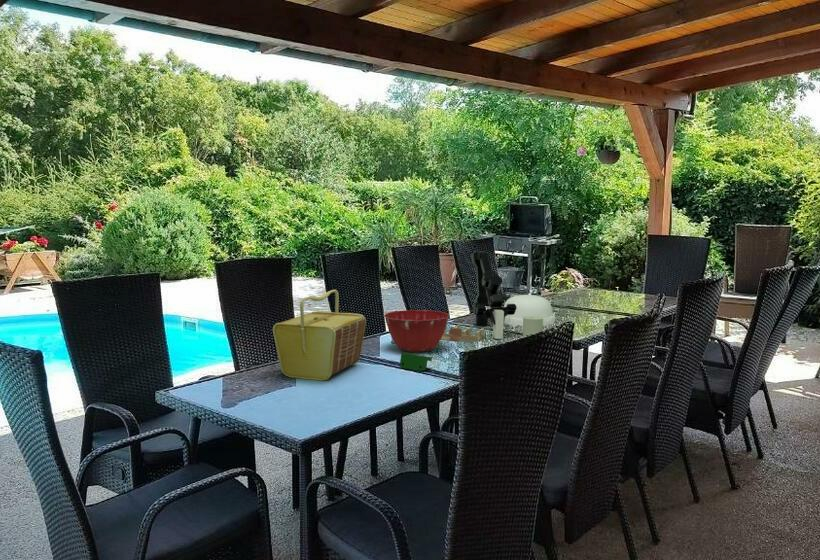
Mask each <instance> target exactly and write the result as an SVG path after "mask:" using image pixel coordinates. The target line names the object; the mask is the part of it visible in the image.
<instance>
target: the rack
mask: <svg viewBox="0 0 820 560" xmlns="http://www.w3.org/2000/svg"><path fill="white" fill-rule="evenodd" d="M472 330H473V329H472V327H471V326H470V327H469V326H468V327H467V328H465V330H462V328H460V326H459V325H457V326H455V327H450V328H449V330H448V333H447V327H446V328H445V331H444V333H443V335H442V338H441V340H440V341H447V342H449V341H450V342H458V341H466V342H465V343H469V342H477V341H479V340H480V341H482V340H483V339H485V328H484V327H481V329H479V330H477V331H476V332H474V335H472V334H473V333H472ZM482 338H483V339H482ZM481 339H482V340H481ZM480 341H479V342H480ZM477 343H478V342H477Z"/></svg>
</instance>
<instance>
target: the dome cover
mask: <svg viewBox="0 0 820 560" xmlns="http://www.w3.org/2000/svg"><path fill="white" fill-rule="evenodd" d="M504 302H505V303H503V305H504V306H503V307H507V304H515V305H516V307H517V308H516V311H515V314H513V315H507V316H505V319H504V324H505V323H506V325H508V326H517V325H520V327H523V317H524V316H540V317H543V325H545V326H549V325H548V324H550V325H553V323H554V322H555V321H556V315H555V314H554V312H553V307H552V305H551V303H550V301H549V300H548V299H547V298H545V297H543V296H540V295H534V294H519V295H514V296H511V297H509V298H507V300H506V301H504ZM555 323H556V322H555ZM555 323H554V324H555Z"/></svg>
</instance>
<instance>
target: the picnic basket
mask: <svg viewBox="0 0 820 560" xmlns="http://www.w3.org/2000/svg"><path fill="white" fill-rule="evenodd" d="M333 293H334V294H335V298H334V299H335V300H334V301H335V302H334V304H335V305H334V306H335V307H334V312H333V311H320V310H319V311H318V310H317V311H310V312H309V313H306V314H305V309H304V305H305V302H306V301H309V300H311V301H313V302H320V301H323V300H325V299H327V298H328V297H329V296H330V295H331V294H333ZM339 297H340V296H339V291H338V290H337V289H331V290H329V291H327V292H325V293H323V294H322V295H319V296H307V297H304V298H302V299H301V300H300V304H299V312H300V313H299V314H300V316H296V317H293V318H290V319H288V320H284V321H282V322H276V323H275V324H274V325H273V327H272V334H273V338H274V343H275V347H276V351H277V352H276V353H277V357H278V363H279V366H280V371H281V373H283V375H284V376H287V377H289V378H293V379H303V380H311V381H312V380H314V381H326V380H329V379H330V378H331V376H333V375H335V374H337V373H340V372H341V371H342V370H345V369H347V368H349V367H350V366H351V365H356V364H358V362H360V359H361V354H362V347H363V341H364V337H365V331H366V326H367V319H366V317H365V316H364V315H363V314H361V313H351V312H350V313H349V312H339V302H340V301H339V299H340V298H339Z"/></svg>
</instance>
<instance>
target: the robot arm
mask: <svg viewBox="0 0 820 560" xmlns="http://www.w3.org/2000/svg"><path fill="white" fill-rule="evenodd" d="M470 255H471V256H470V258H471V262H472V264H473V267H475V274H476V275H475V276H476V288H477V289H476V291H477V296H476V298H475V300H474V304H473V307H472V313H473V314H474V315H475V323H473V324H472V325H473V326H477V327H487V326H488V325H489V326H491V324H492V325H493V324H494V325H495V319H494V310H503V311H504V319H505V316H507V315H513V314H515V311H516V308H517V307H516V305H515V304H507V307H504V306H503V305H504V303H503V302H506V301H507V300H508V296H507V293H500V294H499V291H500V289H501V287H502V284H503V278H502V277H501V276H499V275H498V273H495V272H493V269H492V266H491V262H490V254H489V252H487V251H486V250H477V251H476V250H473V253H471V254H470ZM489 320H490V322H491V324H489ZM504 324H505V323H503V326H504Z"/></svg>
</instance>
